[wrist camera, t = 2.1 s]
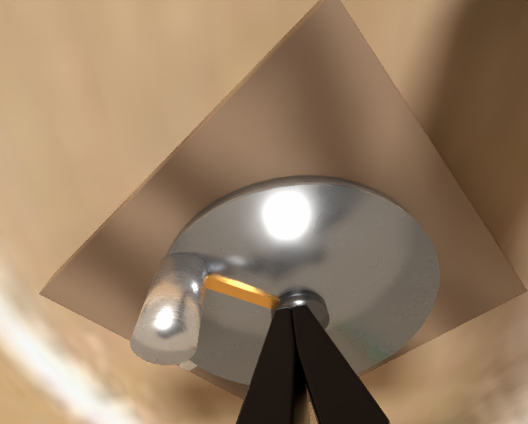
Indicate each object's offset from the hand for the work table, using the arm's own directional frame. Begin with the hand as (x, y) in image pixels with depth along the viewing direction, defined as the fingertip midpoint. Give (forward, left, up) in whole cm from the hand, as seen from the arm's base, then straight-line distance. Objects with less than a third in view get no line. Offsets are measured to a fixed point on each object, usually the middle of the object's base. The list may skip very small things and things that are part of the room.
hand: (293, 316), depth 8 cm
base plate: (+3, +6, -9) cm, 11 cm away
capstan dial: (+3, +6, -7) cm, 10 cm away
